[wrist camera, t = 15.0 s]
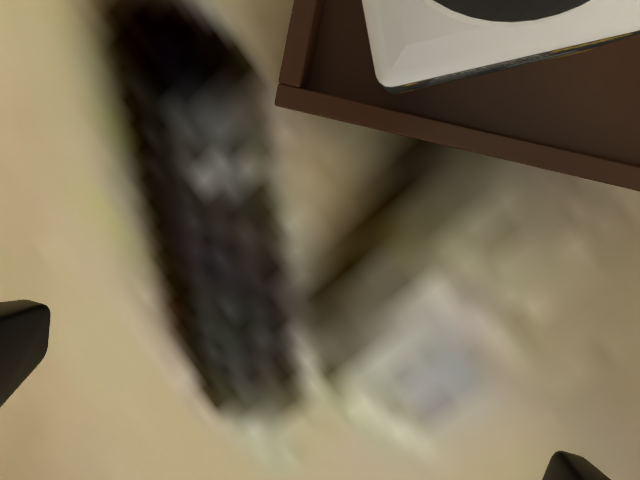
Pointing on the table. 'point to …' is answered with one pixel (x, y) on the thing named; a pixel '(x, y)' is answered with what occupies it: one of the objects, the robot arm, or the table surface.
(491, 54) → the medicine bottle
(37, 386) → the table surface
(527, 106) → the tray
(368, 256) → the table surface
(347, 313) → the table surface
